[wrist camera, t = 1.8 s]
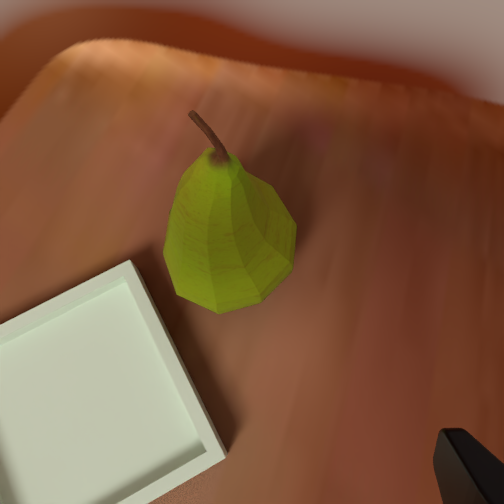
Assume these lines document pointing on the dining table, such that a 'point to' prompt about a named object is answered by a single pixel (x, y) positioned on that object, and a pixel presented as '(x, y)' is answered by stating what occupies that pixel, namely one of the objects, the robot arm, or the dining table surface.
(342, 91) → the dining table surface
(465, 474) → the robot arm
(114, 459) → the tray
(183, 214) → the fruit
